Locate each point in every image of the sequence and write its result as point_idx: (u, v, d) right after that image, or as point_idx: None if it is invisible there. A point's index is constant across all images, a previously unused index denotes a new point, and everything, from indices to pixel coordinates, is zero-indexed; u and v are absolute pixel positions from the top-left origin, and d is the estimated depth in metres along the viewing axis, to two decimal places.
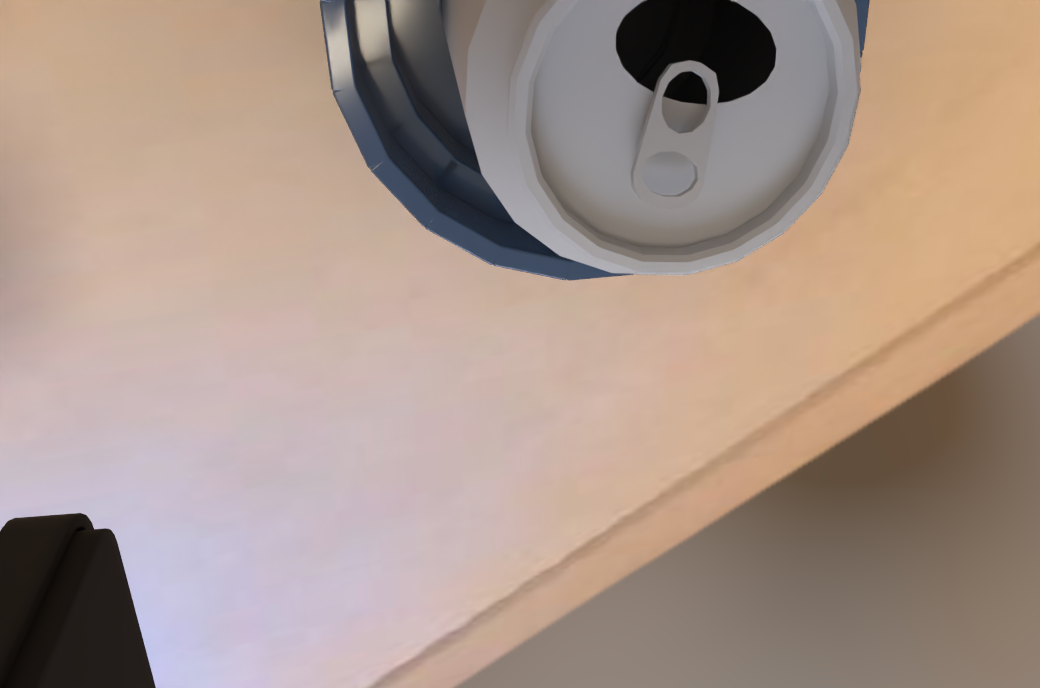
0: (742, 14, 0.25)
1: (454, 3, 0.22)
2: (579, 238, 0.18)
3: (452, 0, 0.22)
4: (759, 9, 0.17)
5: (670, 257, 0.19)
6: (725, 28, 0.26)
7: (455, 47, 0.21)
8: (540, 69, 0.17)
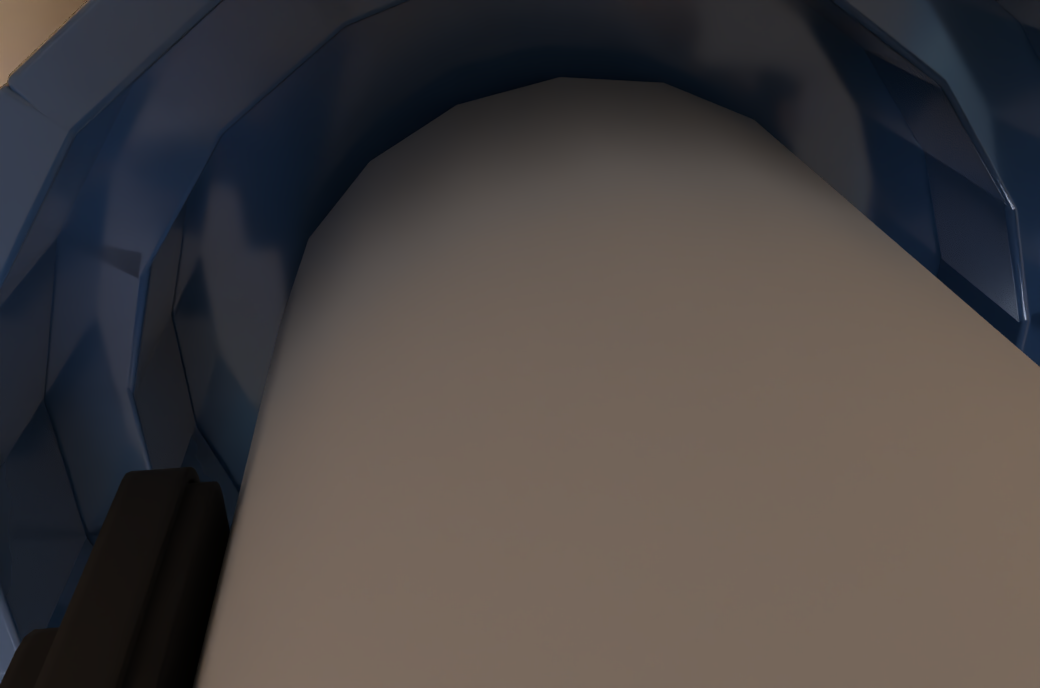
0: None
1: (213, 602, 0.08)
2: None
3: (223, 558, 0.08)
4: None
5: None
6: None
7: None
8: None
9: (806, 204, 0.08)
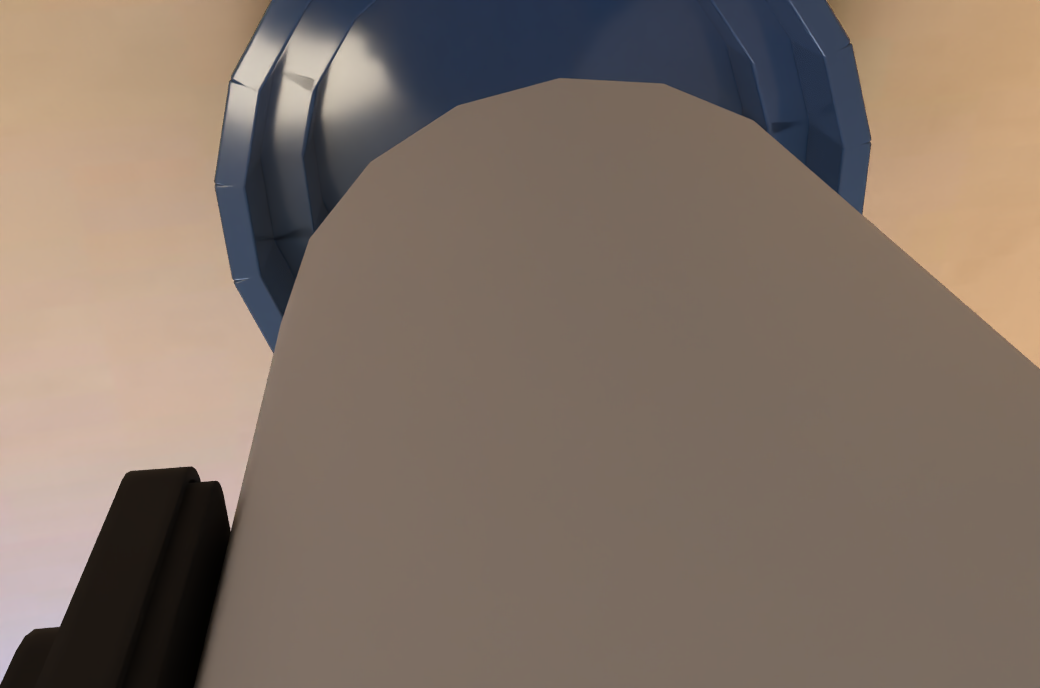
0: None
1: (214, 602, 0.08)
2: None
3: None
4: None
5: None
6: None
7: None
8: None
9: (805, 205, 0.08)
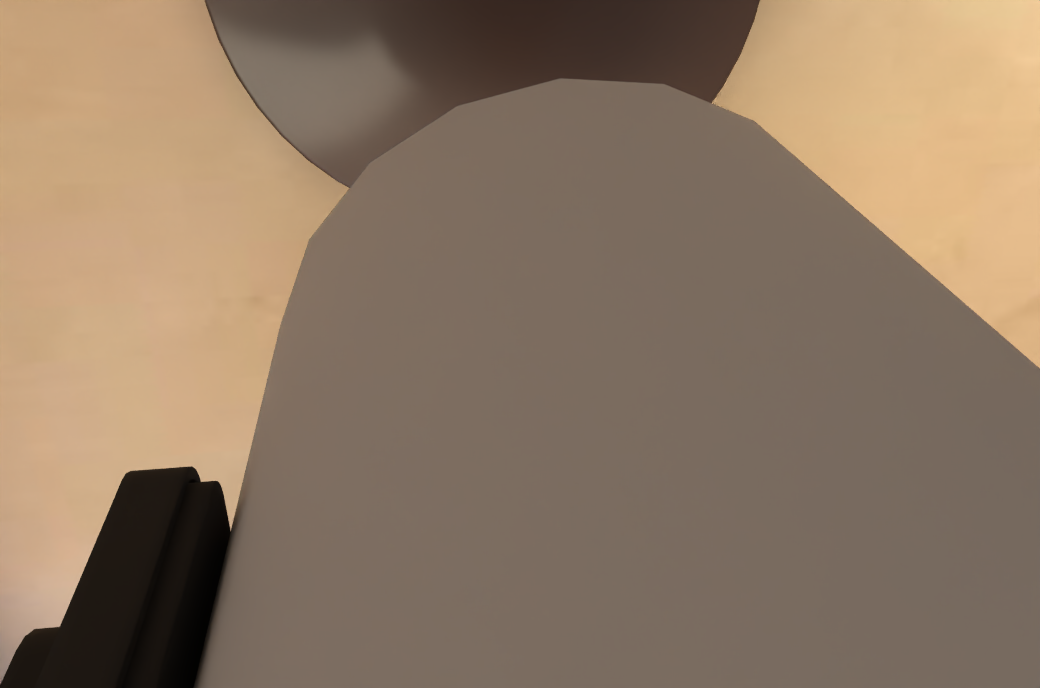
0: None
1: (214, 604, 0.08)
2: None
3: (224, 559, 0.08)
4: None
5: None
6: None
7: None
8: None
9: (806, 206, 0.08)
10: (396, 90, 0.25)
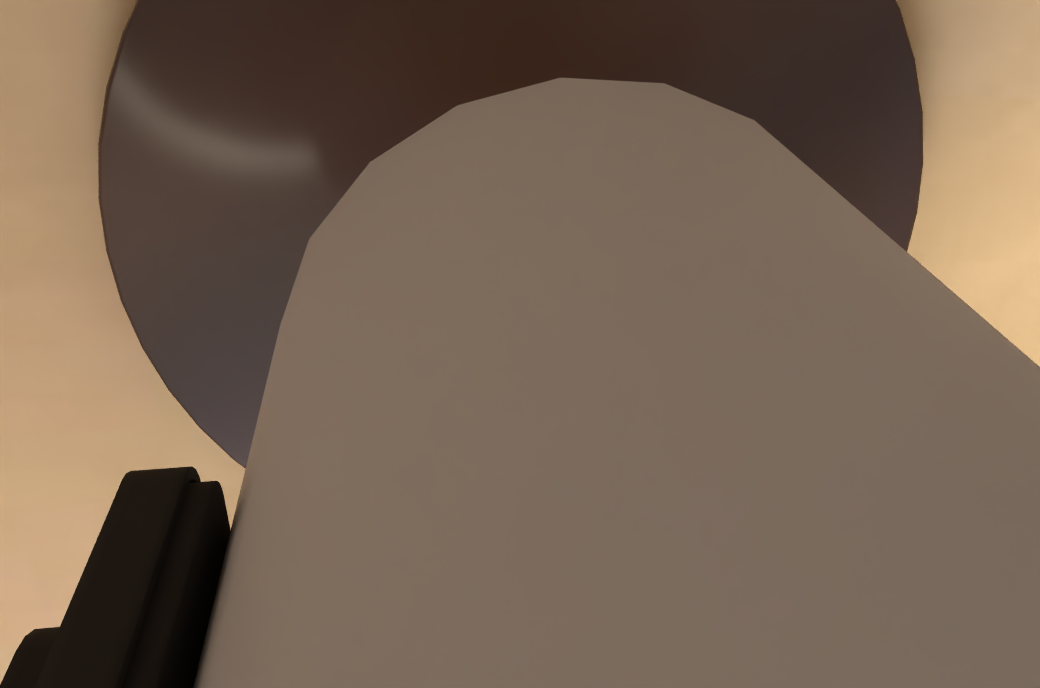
0: None
1: (213, 603, 0.08)
2: None
3: None
4: None
5: None
6: None
7: None
8: None
9: (806, 205, 0.08)
10: None
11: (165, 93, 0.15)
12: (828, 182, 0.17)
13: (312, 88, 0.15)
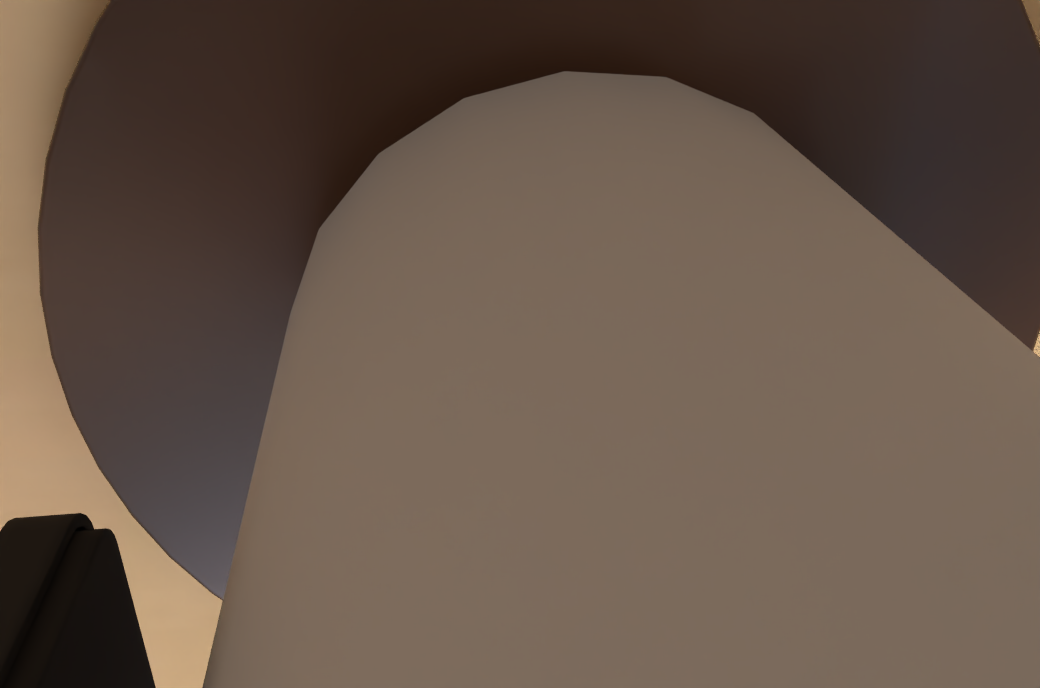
0: None
1: (229, 574, 0.08)
2: None
3: None
4: None
5: None
6: None
7: None
8: None
9: (802, 192, 0.08)
10: None
11: (120, 166, 0.12)
12: (943, 268, 0.14)
13: (306, 159, 0.12)
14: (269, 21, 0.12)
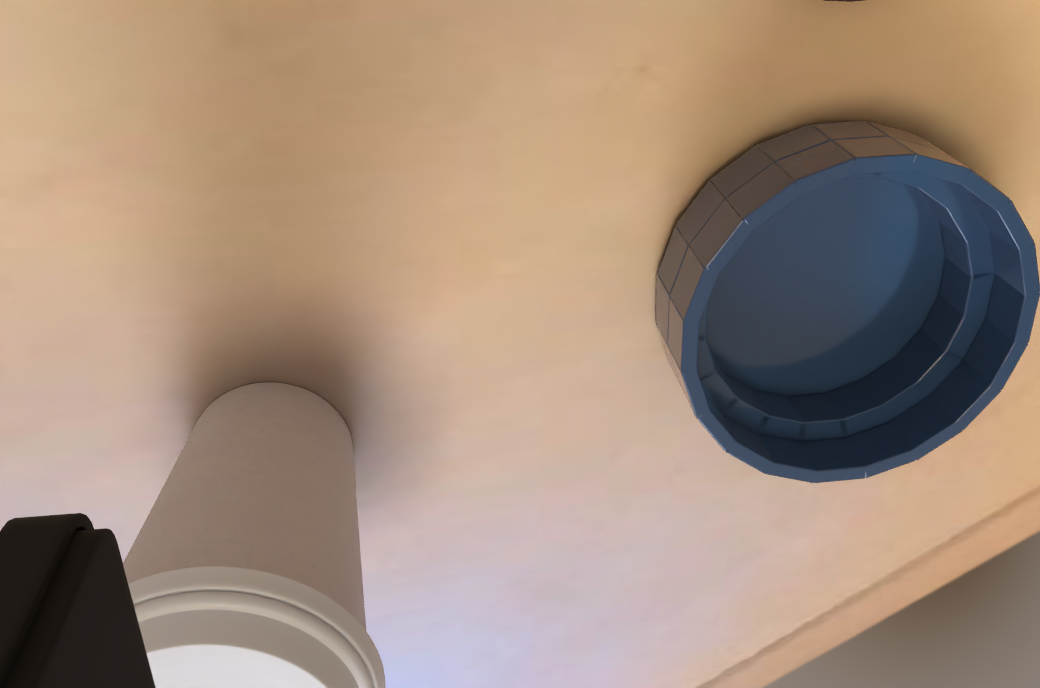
0: None
1: None
2: None
3: None
4: None
5: None
6: None
7: None
8: None
9: None
10: None
11: None
12: None
13: None
14: None
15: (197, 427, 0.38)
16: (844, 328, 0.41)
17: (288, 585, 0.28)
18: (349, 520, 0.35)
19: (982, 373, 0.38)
